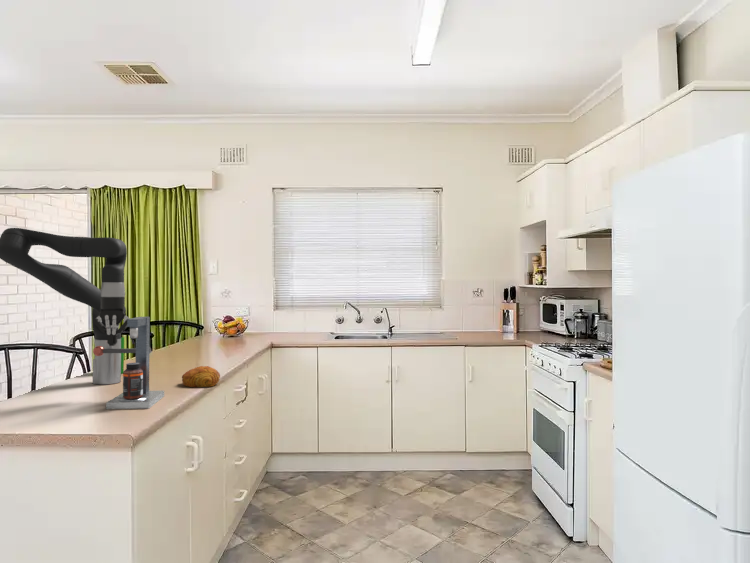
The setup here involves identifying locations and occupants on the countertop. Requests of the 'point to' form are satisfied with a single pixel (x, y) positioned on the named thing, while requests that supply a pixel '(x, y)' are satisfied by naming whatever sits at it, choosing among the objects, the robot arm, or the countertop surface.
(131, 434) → the countertop surface
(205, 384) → the croissant
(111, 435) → the countertop surface
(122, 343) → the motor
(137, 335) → the press
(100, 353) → the lever
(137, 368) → the supplement bottle
